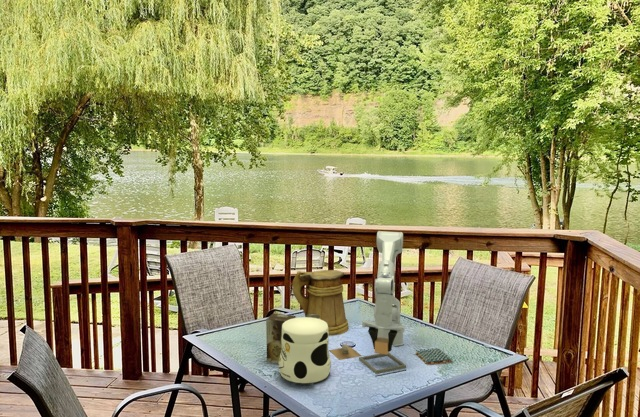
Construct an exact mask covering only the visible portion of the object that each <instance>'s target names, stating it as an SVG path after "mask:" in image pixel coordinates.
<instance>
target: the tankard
mask: <svg viewBox="0 0 640 417" xmlns="http://www.w3.org/2000/svg"><path fill="white" fill-rule="evenodd" d="M344 275H345V272H344V271H341V270H337V269H324V270H316V271H315V270H314V271H309V272H308V271H302V270H297V271H296V275H295V276H294V278H293V280H292V284H291V286H292V288H291V289H292V293H293V295H294V298H295V299H296V301H297V303H298V304H299V305H300V306H301V308H302V310H303V313H304V317H305V316H306V315H309V314H316V315H319V316H320V319H321V320H323V321H325V322H326V323H327V325H328V331H329V335H328V337H330V336H337V335H343V334H345V333H347V332H348V331H349V329H350V328H349V327H350V326H349V322H348V319H347V317H346V311H345V310H346V309H345V304H344V296H343V292H344V286H343V282H342V281H341V278H342V277H343V276H344ZM306 285H307V286H306ZM304 286H306V288H305V290H306V291H307V292H308V296H306V295H304V294H303V293H302V288H303V287H304Z"/></svg>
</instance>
